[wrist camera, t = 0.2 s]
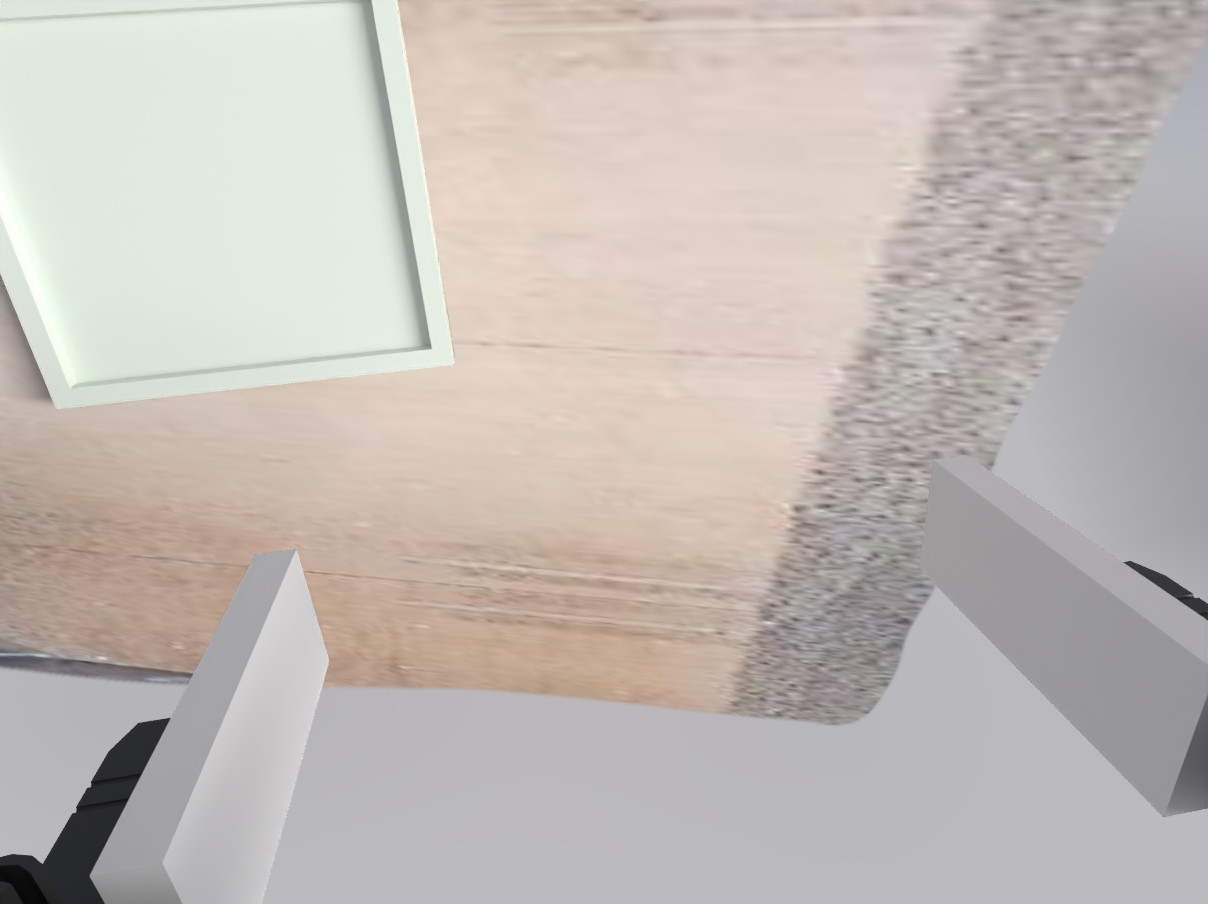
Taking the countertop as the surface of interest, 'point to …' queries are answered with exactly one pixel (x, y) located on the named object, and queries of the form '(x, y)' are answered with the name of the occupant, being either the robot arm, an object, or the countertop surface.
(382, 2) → the tray
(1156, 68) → the countertop surface
